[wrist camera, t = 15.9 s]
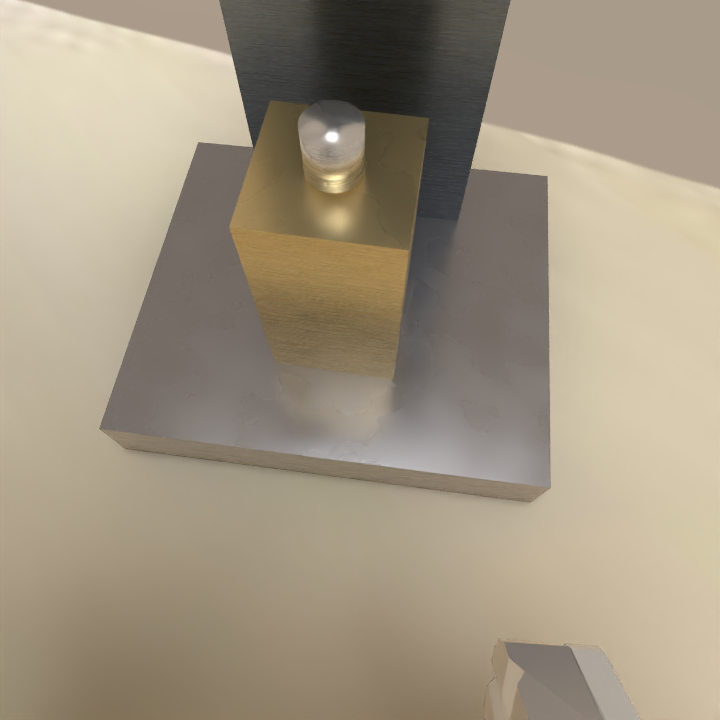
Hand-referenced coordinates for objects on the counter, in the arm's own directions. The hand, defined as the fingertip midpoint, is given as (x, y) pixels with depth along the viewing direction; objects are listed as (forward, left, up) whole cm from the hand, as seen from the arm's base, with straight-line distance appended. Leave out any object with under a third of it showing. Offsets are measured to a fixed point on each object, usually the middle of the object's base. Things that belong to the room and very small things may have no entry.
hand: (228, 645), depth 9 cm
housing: (0, +11, -10) cm, 15 cm away
